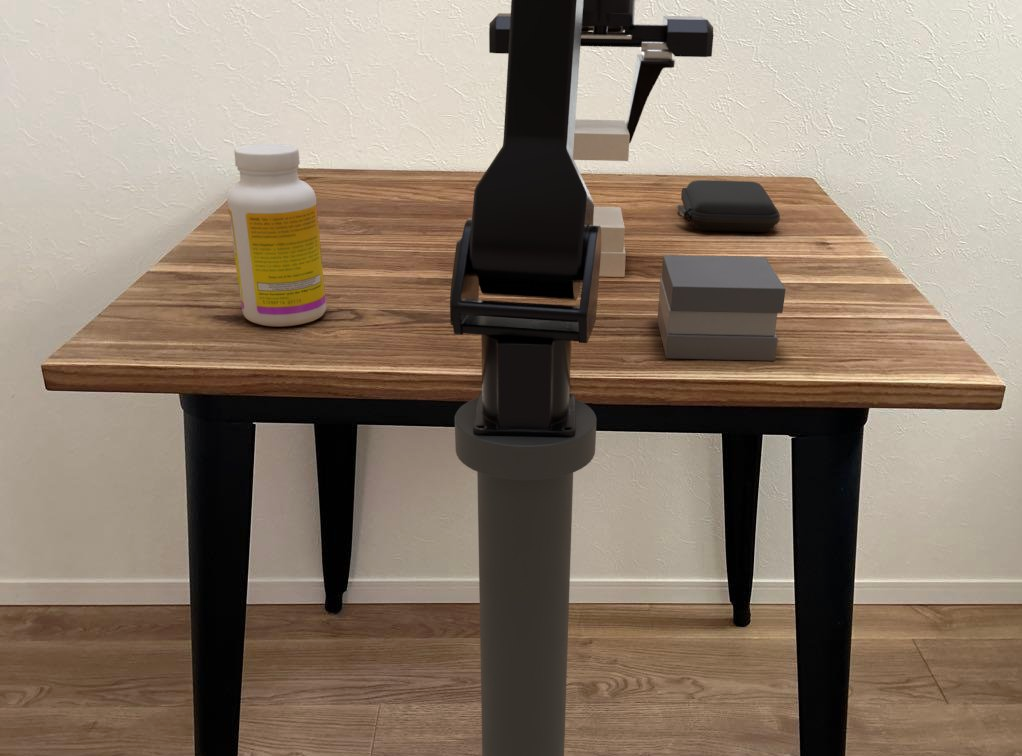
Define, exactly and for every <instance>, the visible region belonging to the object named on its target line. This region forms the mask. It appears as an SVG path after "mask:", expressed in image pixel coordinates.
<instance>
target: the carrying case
mask: <svg viewBox="0 0 1022 756" xmlns="http://www.w3.org/2000/svg"><path fill="white" fill-rule="evenodd" d="M680 199H681V201H682V205H681V204H678V205H677V207H676V213H677V216H679V217H682V218H683V219H684V220H686V221H687V222H692V224H693V225H694V227H695V229H698V230H700V231H704V232H705V231H706V232H737V233H739V232H740V233H742V232H743V233H767V232H770V231H772V230H773V229H774V227H775V226H776V225H778V224H779V222H780V220H781V215H780V212H779V210H778V208H777V207H776V205H775V204H774V202H773V201H772V198H771V197H770V195H769V194H768V192H767V190H765V188H764V186H763V185H762V184H760V183H759V182H756V181H750V180H749V181H745V180H743V181H742V180H711V179H710V180H709V179H708V180H704V179H699V180H698V179H697V180H693V181H691V182H689V183H688V185H687V186H686V187H682V189H681V194H680Z"/></svg>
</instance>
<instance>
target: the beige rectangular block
mask: <svg viewBox="0 0 1022 756" xmlns="http://www.w3.org/2000/svg"><path fill="white" fill-rule="evenodd" d="M626 123H627V121H626V120H623V119H620V120H618V119H576V118H575V132H574V146H573V159H574V161H609V162H612V161H615V162H628V161H629V157H630V156H629V154H630V143H629V139H630V134H629V131H628V129H627V127H626Z"/></svg>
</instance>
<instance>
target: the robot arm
mask: <svg viewBox="0 0 1022 756" xmlns="http://www.w3.org/2000/svg"><path fill="white" fill-rule="evenodd" d="M635 15H636V0H511V2H510V13H507V12H504V13H502V12H500V13H499V12H498V13H497V14H496V15H495V17H494V18H493V19H492V20H491V21H490V22H489V23H488V24H489V27H488V29H489V30H488V47H489V48H488V51H489V54H501V55H502V54H503V55H504V54H506V55H507V71H506V73H507V74H506V86H505V87H506V89H505V107H504V125H503V141H502V146H501V148H500V149H499V151H498V153H497V154H496V155H495V156H494V158H493V159H492V162H491V163H490V165H489V166H488V167H487V169H486V170H485V172H484V174H483V175H482V177H481V178H480V179H479V181H478V183H477V184H476V185H475V188H474V192H473V202H472V215H471V218H467V219H466V221H465V223H464V227H463V231H462V235H461V238H460V239H458V240H457V241H456V243H455V250H454V258H453V259H454V260H453V267H452V274H451V275H452V276H451V285H450V296H449V318H450V320H449V321H450V326H452V330H453V335H456V336H457V335H458V336H463V335H475V336H478V335H479V336H481V337H480V339H481V344H480V345H481V392H480V393H479V394H478V397H479V398H478V397H477V398H478V404H477V409H476V414H475V420H474V425H473V433H474V434H475V435H477V436H511V437H559V438H571V437H574V436H575V432H576V424H575V399H576V396H575V394H574V393H571V363H572V362H571V361H572V342H578V343H579V344H588V343H589V340H590V337H591V334H592V333H593V329H594V327H595V324H596V322H597V321H596V320H597V310H598V298H599V286H600V285H599V284H600V283H599V282H600V277H599V272H600V259H601V226H600V225H593V216H594V207H595V203H594V199H593V197H592V195H591V194H590V191H589V189H588V187H587V185H586V182H585V181H584V179H583V176H582V175H581V173H580V170H579V167H578V166H577V164H576V161H575V160H574V159H573V146H574V132H575V119H576V116H577V115H576V114H577V99H578V85H579V72H580V58H581V57H580V55H581V47H603V48H607V47H608V48H639V51H640V52H641V54H636V56H635V57H636V58H635V66H634V74H633V82H632V87H631V94H630V99H629V104H628V111H627V117H626V127H627V129H628V131H629V134H630V139H629V144H631V143H632V140H633V138H634V135H635V132H636V129H637V127H638V124H639V121H640V119H641V117H642V115H643V111H644V108H645V106H646V104H647V101H648V98H649V96H650V94H651V92H652V91H653V88H654V87H655V84H656V83H657V81H658V79H659V77H660V76H661V73H662V71H663V70H664V69H668V68H669V69H672V68H675V64H676V63H675V62H676V61H675V59H674V58H673V56H674V57H683V58H684V57H687V58H710V57H712V56H713V46H714V44H713V43H714V26H713V25H712V24H711V22H710V21H709V20H708V19H707V18H705V17H703V16H694V15H693V16H690V15H688V16H687V15H683V16H681V15H663V16H662V19H661V20H662V21H661V24H649V23H648V24H645V23H644V24H643V23H641V24H640V23H639V24H638V23H635V19H636V18H635ZM580 291H581V293H580ZM480 292H481V293H482V295H484V296H497V297H513V298H526V299H527V298H529V299H545V300H559V301H560V300H561V301H577V300H578V298H579V295H580V299H579V305H567V304H566V305H565V304H551V303H550V304H549V303H534V302H520V301H518V302H517V301H504V300H487V299H480V298H479V297H480V296H479V295H480Z"/></svg>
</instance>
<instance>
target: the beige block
mask: <svg viewBox="0 0 1022 756" xmlns="http://www.w3.org/2000/svg"><path fill="white" fill-rule="evenodd" d="M593 225H600V226H601V259H600V272H599V278H601V277H602V278H603V277H605V278H624V277H625V276H626V256H627V254H626V253H627V251H626V248H625V235H626V234H625V233H626V227H625V223H624V217H623V213H622V208H621V206H594V216H593Z"/></svg>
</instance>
